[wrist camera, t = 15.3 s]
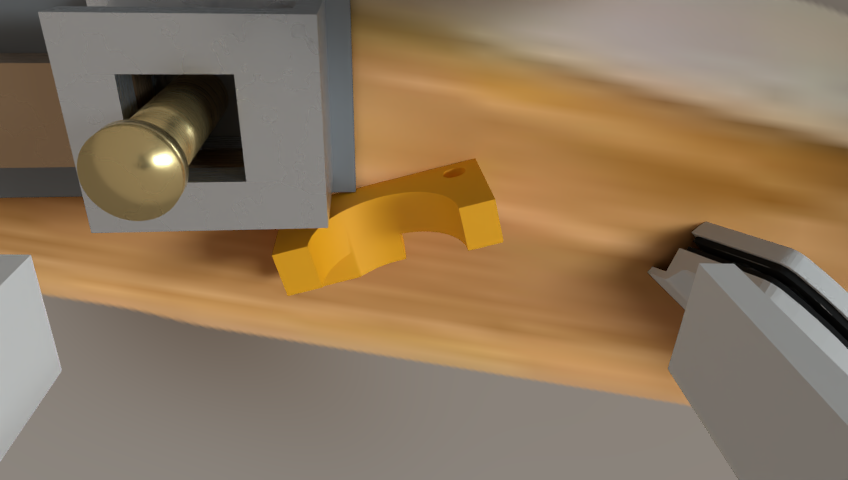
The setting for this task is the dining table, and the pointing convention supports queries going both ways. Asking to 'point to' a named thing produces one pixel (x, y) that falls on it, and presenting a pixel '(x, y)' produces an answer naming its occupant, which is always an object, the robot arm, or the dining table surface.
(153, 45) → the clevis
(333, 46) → the mat
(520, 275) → the dining table surface
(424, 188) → the pipe clamp
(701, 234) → the grey rounded block
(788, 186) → the dining table surface
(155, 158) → the brass pin
